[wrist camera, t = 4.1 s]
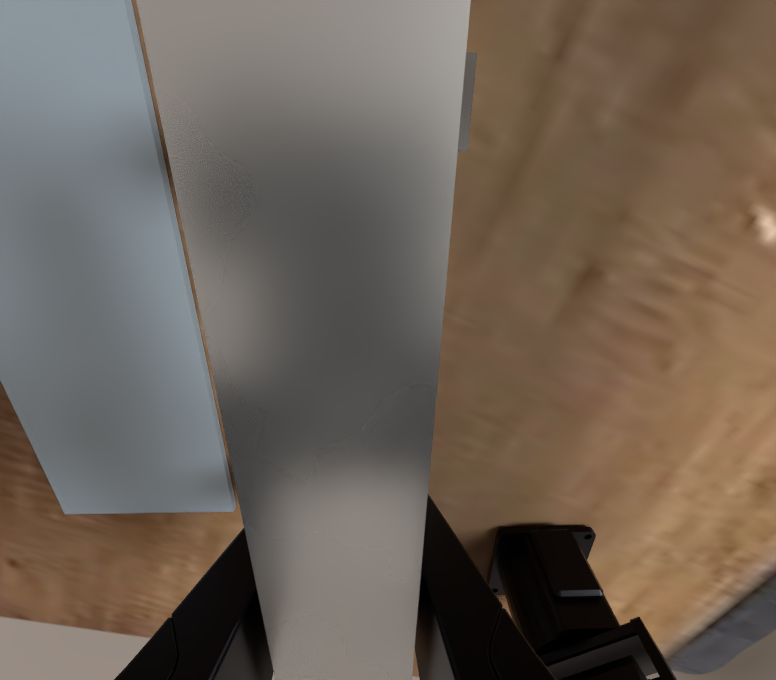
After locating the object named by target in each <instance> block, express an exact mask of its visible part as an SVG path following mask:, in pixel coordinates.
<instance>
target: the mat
mask: <svg viewBox="0 0 776 680" xmlns="http://www.w3.org/2000/svg"><path fill="white" fill-rule="evenodd" d="M0 381H1V383H2V385H3V387H4V389H5V391H6V393H7V395H8V397H9V399H10V401H11V404H12V406H13V408H14V410H15V412H16V414H17V416H18V418H19V420H20V422H21V424H22V426H23V428H24V431H25V433H26V435H27V437H28V439H29V441H30V443H31V445H32V447H33V449H34V451H35V453H36V455H37V458H38V460H39V462H40V464H41V466H42V468H43V470H44V472H45V474H46V476H47V478H48V480H49V483H50V485H51V487H52V489H53V491H54V493H55V495H56V497H57V499H58V501H59V503H60V505H61V507H62V510H63V512H64V514H114V513H179V512H234V510H235V507H236V501H235V496H234V491H233V486H232V482H231V477H230V472H229V467H228V462H227V458H226V453H225V448H224V443H223V438H222V434H221V429H220V424H219V419H218V414H217V410H216V405H215V400H214V395H213V390H212V386H211V381H210V376H209V371H208V366H207V362H206V357H205V352H204V347H203V342H202V338H201V333H200V328H199V323H198V318H197V314H196V309H195V304H194V299H193V294H192V290H191V285H190V280H189V275H188V270H187V266H186V261H185V256H184V251H183V246H182V242H181V237H180V232H179V227H178V222H177V217H176V213H175V208H174V203H173V198H172V193H171V189H170V184H169V179H168V174H167V169H166V165H165V160H164V155H163V150H162V145H161V141H160V136H159V131H158V126H157V121H156V117H155V112H154V107H153V102H152V97H151V93H150V88H149V83H148V78H147V73H146V69H145V64H144V59H143V54H142V49H141V45H140V40H139V35H138V30H137V25H136V21H135V16H134V11H133V6H132V1H131V0H0Z"/></svg>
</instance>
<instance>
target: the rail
mask: <svg viewBox="0 0 776 680" xmlns="http://www.w3.org/2000/svg"><path fill="white" fill-rule="evenodd" d="M136 1H137V6H138V11H139V15H140V20H141V25H142V30H143V35H144V40H145V45H146V50H147V55H148V59H149V64H150V69H151V74H152V79H153V84H154V89H155V94H156V99H157V103H158V108H159V113H160V118H161V123H162V128H163V133H164V138H165V142H166V147H167V152H168V157H169V162H170V167H171V172H172V177H173V182H174V186H175V191H176V196H177V201H178V206H179V211H180V216H181V221H182V226H183V230H184V235H185V240H186V245H187V250H188V255H189V260H190V265H191V269H192V274H193V279H194V284H195V289H196V294H197V299H198V304H199V309H200V313H201V318H202V323H203V328H204V333H205V338H206V343H207V348H208V353H209V357H210V362H211V367H212V372H213V377H214V382H215V387H216V392H217V396H218V401H219V406H220V411H221V416H222V421H223V426H224V431H225V436H226V440H227V445H228V450H229V455H230V460H231V465H232V470H233V475H234V480H235V484H236V489H237V494H238V499H239V504H240V509H241V514H242V519H243V523H244V528H245V533H246V538H247V543H248V548H249V553H250V558H251V563H252V567H253V572H254V577H255V582H256V587H257V592H258V597H259V602H260V607H261V611H262V616H263V621H264V626H265V631H266V636H267V641H268V646H269V651H270V655H271V660H272V665H273V670H274V675H275V680H412V671H413V659H414V648H415V636H416V624H417V613H418V601H419V590H420V578H421V567H422V555H423V544H424V532H425V521H426V509H427V498H428V486H429V474H430V463H431V451H432V440H433V428H434V417H435V405H436V394H437V382H438V371H439V359H440V347H441V336H442V324H443V313H444V301H445V290H446V278H447V267H448V255H449V244H450V232H451V221H452V209H453V197H454V186H455V174H456V163H457V151H458V140H459V128H460V117H461V105H462V94H463V82H464V70H465V59H466V47H467V36H468V24H469V13H470V1H471V0H136Z"/></svg>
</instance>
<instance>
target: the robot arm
mask: <svg viewBox="0 0 776 680" xmlns="http://www.w3.org/2000/svg"><path fill="white" fill-rule="evenodd" d="M595 537H596V535H595V533H594V531H593V530H592V528H591V527H534V528H502V529H500V530H499V531H498V532H497V535H496V540H495V545H494V550H493V555H492V560H491V565H490V570H489V574H488V579H487V581H486V580H485V578H484V577H483V575H482V574H481V572H480V571H479V569H478V568H477V566H476V565H475V563H474V562H473V560H472V559H471V557H470V556H469V554H468V553H467V551H466V550H465V548H464V547H463V545H462V544H461V542H460V541H459V539H458V538H457V536H456V535H455V533H454V532H453V530H452V529H451V527H450V526H449V524H448V523H447V521H446V520H445V518H444V517H443V516H442V514H441V513H440V511H439V510H438V508H437V507H436V505H435V504H434V502H433V501H432V499H431V498H430V496H429V495H428V498H427V509H426V521H425V532H424V544H423V555H422V567H421V578H420V590H419V601H418V613H417V624H416V636H415V652H416V658H417V665H418V671H419V677H420V680H647V678H646V676H648V675H651V674H654V673H657V672H658V674H659V676H660V677H657V678H654V679H651V680H677V679H676V677H675V676H674V674H673V672H672V671H671V669H670V667H669V665H668V664H667V662H666V660H665V658H664V657H663V655H662V653H661V652H660V650H659V648H658V647H657V645H656V643H655V642H654V640H653V639H652V637H651V635H650V634H649V632H648V630H647V629H646V627H645V625H644V624H643V622H642V620H641V619H640V617H637V618H634V619H631V620H630V622H629V623H626V624H624V625H621V626H620V624H619V622H618V621H617V619H616V617H615V615H614V613H613V611H612V609H611V607H610V605H609V603H608V601H607V600H606V598H605V596H604V594H603V590H602V588H601V586H600V584H599V582H598V580H597V578H596V576H595V575H594V573H593V571H592V569H591V567H590V565H589V563H588V561H587V559H588V556H589V553H590V550H591V548H592V545H593V542H594V540H595ZM496 595H505V596H506V599H507V603H508V606H509V609H510V613H511V616H512V618H511V617H510V615H509V614H508V612H507V611H506V609H504V608H503V609H502V607H503V606H502V604H501V602H500V601H499V599H498V598H497V596H496ZM512 619H513V620H512ZM273 672H274V670H273V665H272V660H271V655H270V651H269V646H268V641H267V636H266V631H265V626H264V621H263V616H262V611H261V607H260V602H259V597H258V592H257V587H256V582H255V577H254V572H253V567H252V563H251V558H250V553H249V548H248V543H247V538H246V533H245V528H243V529H242V531H241V532H240V533H239V534H238V535H237V537H236V538H235V539H234V540H233V541H232V543H231V544H230V545H229V546H228V547H227V549H226V550H225V551H224V552H223V553H222V555H221V556H220V557H219V558H218V559H217V561H216V562H215V563H214V564H213V565H212V567H211V568H210V569H209V570H208V571H207V573H206V574H205V575H204V576H203V577H202V578H201V580H200V581H199V582H198V583H197V584H196V586H195V587H194V588H193V589H192V590H191V592H190V593H189V594H188V595H187V596H186V598H185V599H184V600H183V601H182V602H181V604H180V605H179V606H178V607H177V608H176V610H175V611H174V612H173V613H172V618H171V617H169V618H168V619H167V620H166V621H165V622H164V624H163V625H162V626H161V627H160V628H159V630H158V631H157V632H156V633H155V634H154V636H153V637H152V638H151V639H150V640H149V641H148V642H147V644H146V645H145V646H144V647H143V648H142V649H141V651H140V652H139V653H138V654H137V655H136V656H135V658H134V659H133V660H132V661H131V662H130V663H129V664H128V666H126V668H125V669H124V670H123V671H122V672H121V673H120V674H119V675H118V676H117V677H116V678H115V679H114V680H272V676H273ZM648 680H650V679H648Z"/></svg>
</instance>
